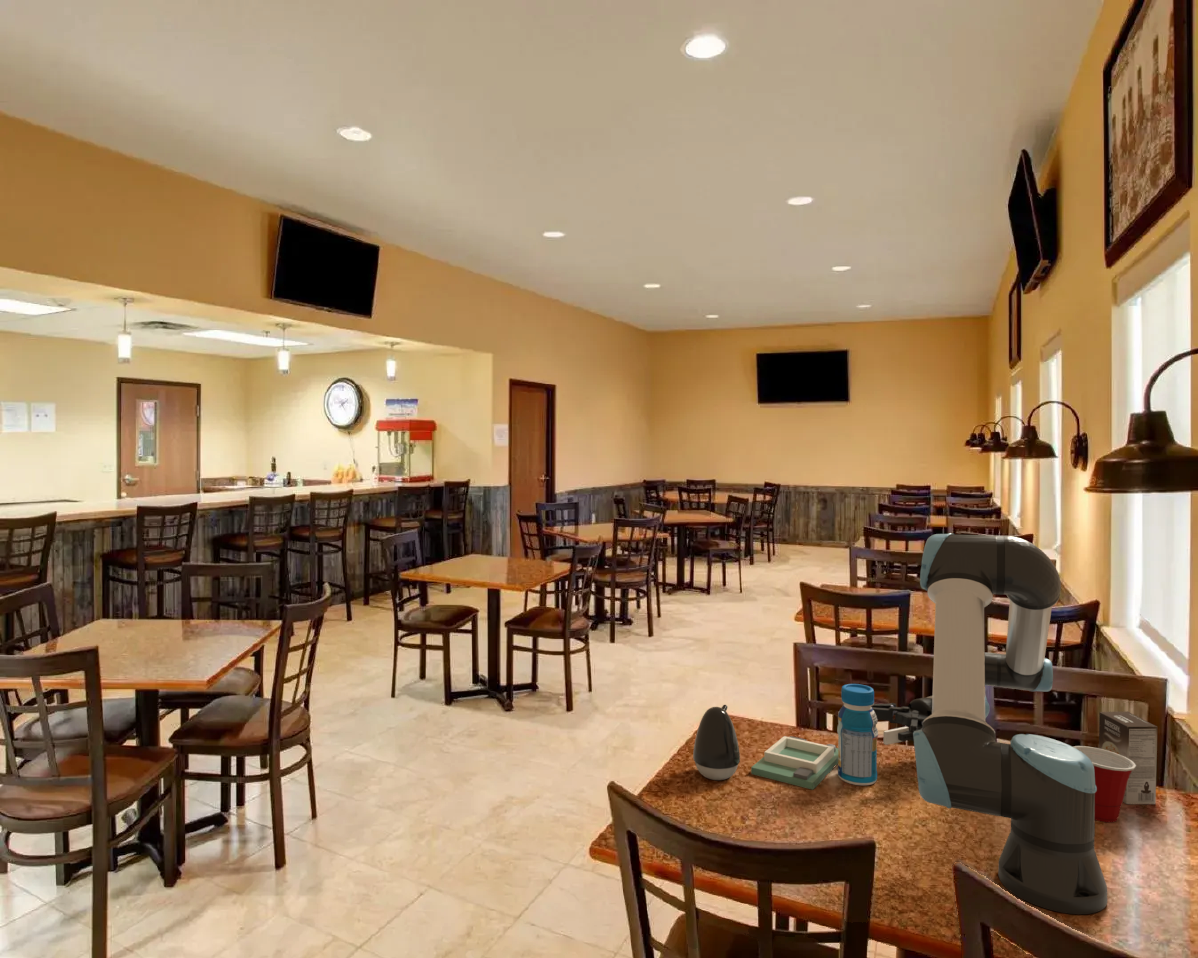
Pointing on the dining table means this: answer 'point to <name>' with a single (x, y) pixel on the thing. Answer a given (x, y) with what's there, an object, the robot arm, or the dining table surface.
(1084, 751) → the plastic cup
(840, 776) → the beverage bottle
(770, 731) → the dining table surface
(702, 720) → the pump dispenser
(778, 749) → the board
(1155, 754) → the coffee box
